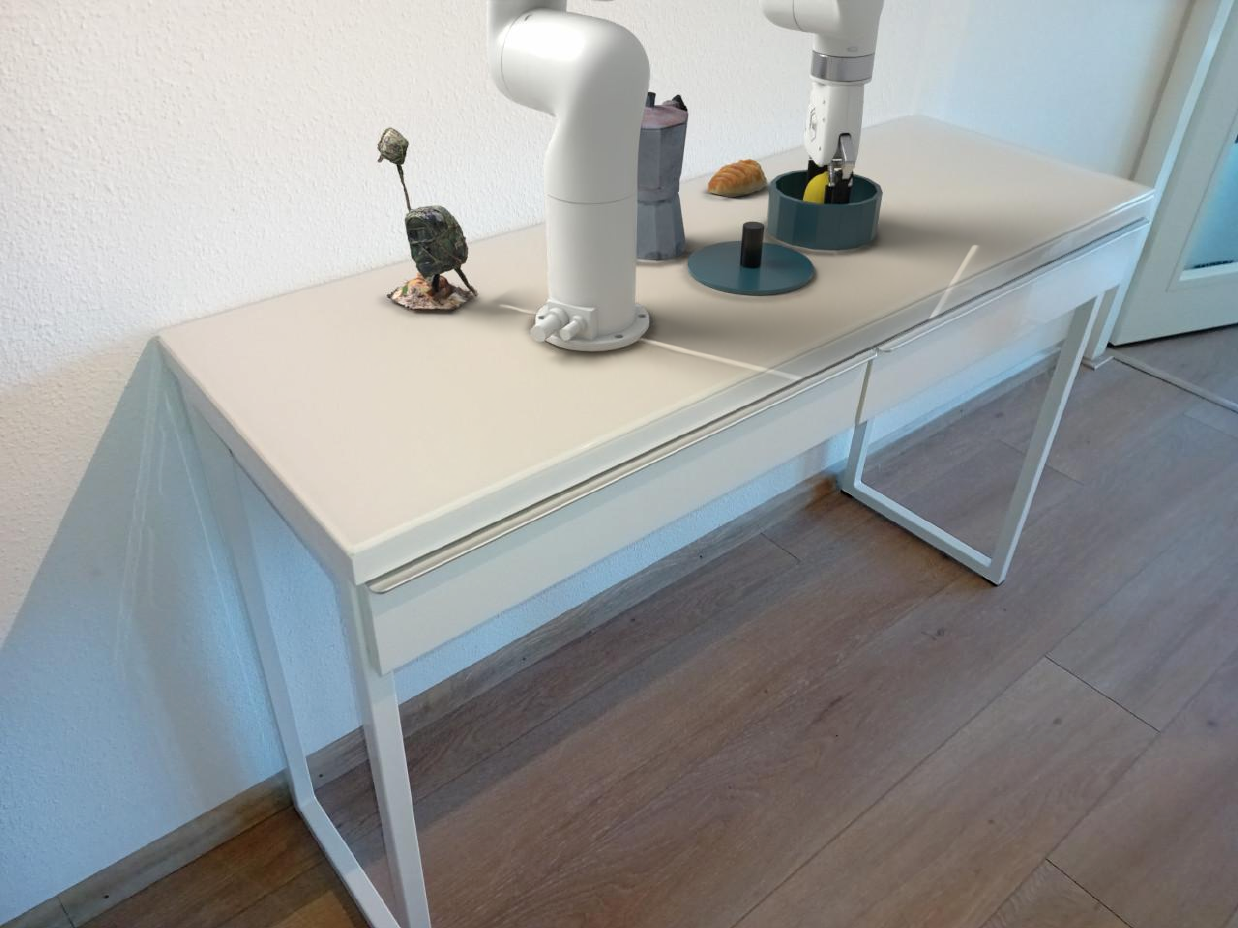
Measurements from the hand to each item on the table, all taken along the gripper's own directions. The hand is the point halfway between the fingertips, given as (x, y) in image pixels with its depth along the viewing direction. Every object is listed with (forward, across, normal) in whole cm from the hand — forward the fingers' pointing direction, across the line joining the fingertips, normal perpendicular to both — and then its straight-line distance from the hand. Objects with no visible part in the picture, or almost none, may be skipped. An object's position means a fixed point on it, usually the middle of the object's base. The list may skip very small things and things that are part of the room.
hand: (825, 202), depth 130 cm
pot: (+4, 0, 0) cm, 4 cm away
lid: (+3, +13, -12) cm, 18 cm away
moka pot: (+4, +5, -24) cm, 24 cm away
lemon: (+4, 0, 0) cm, 4 cm away
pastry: (+4, -18, -9) cm, 20 cm away
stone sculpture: (+4, +19, -50) cm, 54 cm away
